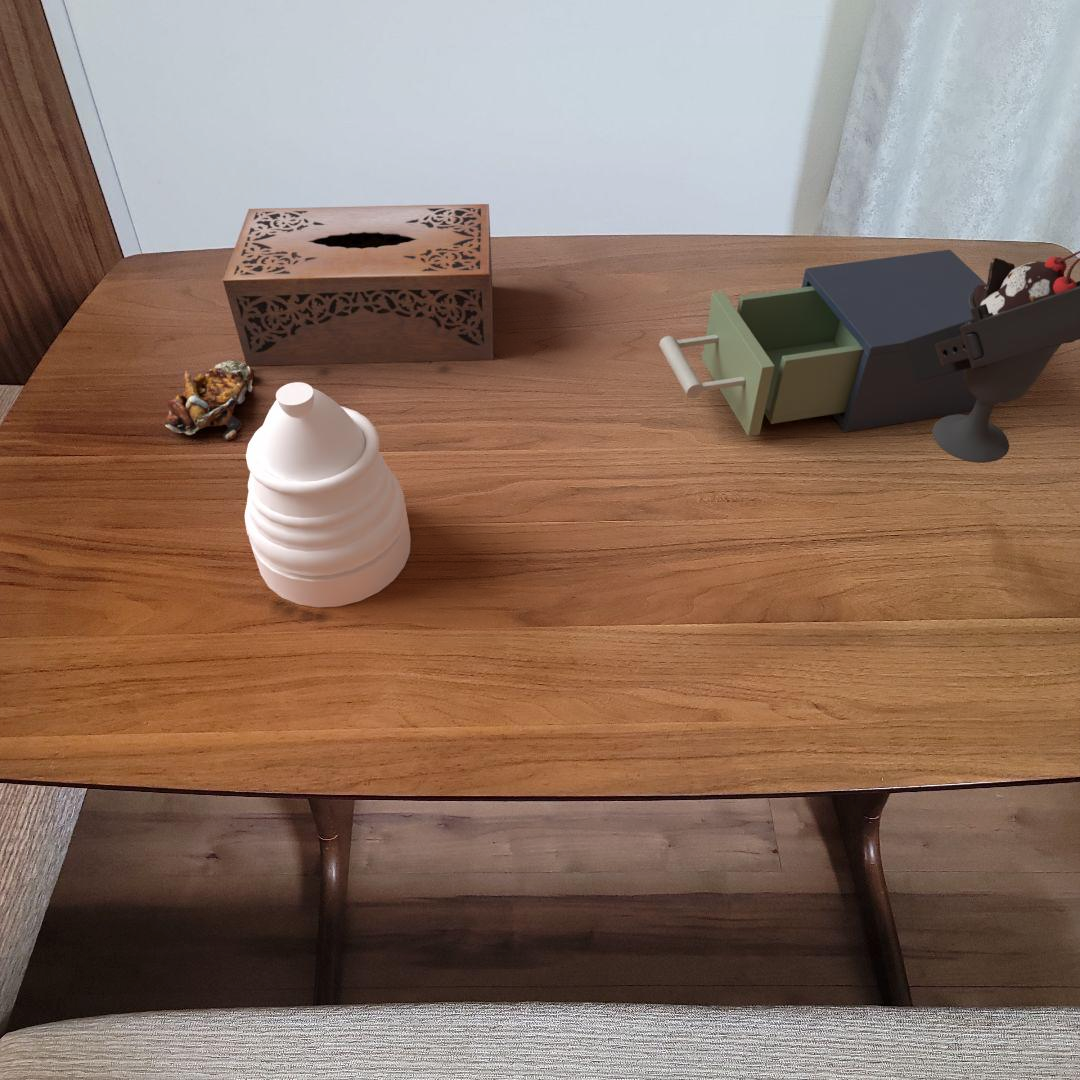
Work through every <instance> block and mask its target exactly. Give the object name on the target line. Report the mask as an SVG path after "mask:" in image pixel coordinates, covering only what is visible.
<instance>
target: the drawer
mask: <svg viewBox="0 0 1080 1080" xmlns="http://www.w3.org/2000/svg"><path fill="white" fill-rule="evenodd" d="M707 317H708V318H707V323H706V330H705V335H704V336H697V337H696V336H695V337H689V338H682V339H676V338H675V337H674V336H673V335H665V336H664V337H662V338H661V339H660V340H659V348H660V350H661V351H662V353H663V355H664V357H665V358H666V360H667V362H668V364H669V366H670V368H671V370H672V371H673V373H674V375H675V377H676V378H677V380H678V382H679V384H680V385H681V387H682V389H683V391H684V393H685V395H686V396H687V398H689V399H697V398H699V397H700V396H701V395H702V394H703V392H708V391H714V390H720V392H721V394H722V395H723V397H724V398H725V399H724V400H725V401H726V402H727V403H728V405H729V407H730V408H731V411H732V412H733V414H734V415H735V417H736V419H737V421H738V422H739V424H740V426H741V428H742V429H743V430H744V432H745V434H746V435H747V437H753V436H759V435H760V433H761V429H762V425H763V421H764V416H765V417H766V418H767V420H768V421H769V423H770V425H773V424H779V423H786V422H791V421H798V420H804V419H805V420H806V419H810V418H817V417H823V416H829V415H832V414H836V413H843V412H846V409H847V405H848V402H849V399H850V395H851V392H852V389H853V385H854V382H855V379H856V375H857V372H858V369H859V366H860V362H861V359H862V356H863V352H864V349H863V348H862V347H861V345H860V344H859V343H858V342H857V340H856V339H855V338H854V337H853V336H852V334H851V333H850V332H849V331H848V329H847V328H846V327H845V326H844V325H843V323H842V322H841V321H840V320H839V318H838V317H837V316H836V315H835V313H834V312H833V311H832V310H831V309H830V307H829V306H828V305H827V304H826V302H825V301H824V300H823V299H822V298H821V296H820V295H819V294H818V293H817V291H816V290H815V289H814V288H813V286H809V287H802V286H801V287H795V288H789V289H788V288H787V289H781V290H773V291H766V292H765V291H764V292H758V293H757V292H756V293H751V294H743V295H740V296H739V298H738V303H737V308H736V307H735V306H734V305H733V303H732V301H731V300H730V299H729V297H728V296H727V294H726V293H725V291H722V290H721V291H714V292H711V297H710V304H709V311H708V316H707ZM696 346H703V350H702V358H701V360H702V362H703V364H704V366H705V367H706V369H707V370H708V372H709V374H710V375H711V378H712V379H713V380H712V381H704V382H701V381H700V379H699V378H698V376H697V374H696V373H695V371H694V369H693V368H692V366H691V364H690V363H689V361H688V359H687V357H686V356H685V354H684V353H683V350H682V348H689V347H696Z"/></svg>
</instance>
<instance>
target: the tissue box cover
mask: <svg viewBox="0 0 1080 1080" xmlns="http://www.w3.org/2000/svg"><path fill="white" fill-rule="evenodd" d="M222 283H223V286H224V290H225V293H226V297H227V300H228V305H229V308H230V311H231V314H232V318H233V322H234V326H235V329H236V334H237V336H238V340H239V344H240V347H241V351H242V354H243V357H244V361H245V364H246V365H247V366H249V367H252V366H253V367H254V366H286V365H290V366H291V365H292V366H293V365H327V364H328V365H330V364H331V365H332V364H333V365H334V364H369V363H402V362H403V363H408V362H411V363H412V362H413V363H415V362H449V361H453V362H454V361H489V360H492V361H493V360H494V315H493V314H494V313H493V312H494V311H493V310H494V309H493V307H494V306H493V305H494V304H493V303H494V302H493V299H494V298H493V265H492V246H491V221H490V203H471V204H470V203H469V204H468V203H467V204H465V203H464V204H424V205H423V204H422V205H421V204H420V205H419V204H418V205H416V204H415V205H414V204H413V205H375V206H374V205H372V206H371V205H369V206H365V205H364V206H327V207H326V206H322V207H321V206H319V207H281V208H280V207H275V208H273V207H272V208H248V210H247V213H246V216H245V218H244V221H243V224H242V226H241V230H240V232H239V235H238V237H237V241H236V243H235V245H234V248H233V251H232V254H231V256H230V260H229V262H228V265H227V268H226V270H225V273H224V276H223V278H222Z"/></svg>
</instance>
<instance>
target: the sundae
mask: <svg viewBox="0 0 1080 1080" xmlns="http://www.w3.org/2000/svg"><path fill="white" fill-rule="evenodd" d="M1079 254H1080V250H1078V251H1077V252H1074V253H1072V254H1070V255H1067V256H1065V257H1060V256H1050V257H1049V258H1048V259H1047V260H1046V261H1040V260H1038V259H1036V260H1034V261H1032V262H1026V263H1024V264H1022V265H1019V266H1017V267H1016V266H1015V264H1014V263H1012V262H1008V261H1006V260H1005V259H1001V258H998V257H994V258H992V259H991V260H990V265H989V269H988V273H987V274H988V275H987V276H988V277H987V281H986V284H987V285H978V286H976V287H975V288H974V291H973V292H971V293H970V295H969V298H968V301H969V306H970V308H971V309H972V308H975V307H978V306H981V305H984V304H986V305H987V308H988V312H989V313H993V315H995V314H998V313H1001V312H1004V311H1007V310H1010V309H1013V308H1016V307H1019V306H1022V305H1025V304H1028V303H1031V302H1034V301H1037V300H1040V299H1043V298H1045V297H1048V296H1051V295H1054V294H1057V293H1060V292H1063V291H1066V290H1069V289H1072V288H1075V287H1076V286H1077V285H1076V282H1077V281H1075V280H1074V279H1073V278H1072V277H1071V275H1072V271H1073V269H1074V268H1075V266H1076V265H1077V264H1078V263H1079V262H1080V257H1078V258H1077V259H1076V260H1075V261H1074V262H1073V263H1072V264H1071V265H1070V267H1069V269H1068V270H1067V268H1068V266H1067V263H1066V261H1067V260H1069V259H1071V258H1073V257H1075V256H1077V255H1079ZM1066 270H1067V273H1066V276H1065V272H1066ZM1074 342H1075V341H1071V342H1068V343H1067V344H1071V343H1074ZM1060 347H1061V345H1057V346H1053V347H1050V348H1046V349H1043V350H1039V351H1035V352H1032V353H1028V354H1025V355H1021V356H1017V357H1014V358H1010V359H1007V360H1003V361H999V362H996V363H992V364H990V365H989V366H988V367H986V368H983V369H979V368H978V369H972V367H971V368H967V369H964V380H965V383H966V385H967V386H968V388H969V390H970V391H971V393H972V394H973V395H974V396H975V397H976V398H977V401H976V403H975V406H974V408H973V410H972V412H969V414H961V413H960V414H954V415H948V416H943V417H940V419H939V420H937V421H936V422H935V423H934V425H933V428H932V429H931V430H932V431H931V432H932V437H933V440H934V441H935V443H936V444H937V445H938V446H939V448H940V449H941V450H943V451H944V452H945V453H947V454H948V455H950V456H952V457H954V458H956V459H959V460H962V461H965V462H968V463H969V462H970V463H977V464H984V463H985V464H986V463H993V462H996V461H999V460H1001V459H1002V458H1004V457H1005V456H1007V454H1008V452H1009V450H1010V442H1009V438H1008V436H1007V434H1005V432H1004V431H1003V430H1002V429H1001V428H1000V427H999V426H998V425H997V424H994V423H993V422H991V421H990V419H991V416H992V413H993V411H994V409H995V407H996V406H997V405H999V404H1007V403H1011V402H1014V401H1016V400H1019V399H1021V398H1023V397H1024V396H1025V395H1026V394H1027V392H1028V391H1029V390H1030V389H1031V388H1032V387H1033V385H1034V384H1035V383H1036V381H1037V380H1038V379H1039V377H1040V376H1041V374H1042V373H1043V371H1044V370H1045V368H1046V367H1047V365H1048V364H1049V363H1050V360H1051V359H1052V357H1053V356H1054V355H1055V353H1056V352H1057V351H1058V349H1059V348H1060Z"/></svg>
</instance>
